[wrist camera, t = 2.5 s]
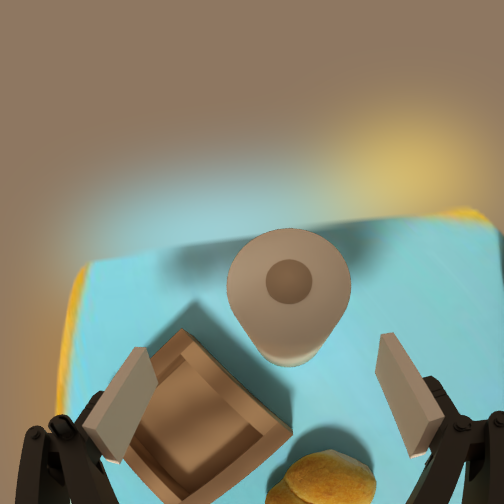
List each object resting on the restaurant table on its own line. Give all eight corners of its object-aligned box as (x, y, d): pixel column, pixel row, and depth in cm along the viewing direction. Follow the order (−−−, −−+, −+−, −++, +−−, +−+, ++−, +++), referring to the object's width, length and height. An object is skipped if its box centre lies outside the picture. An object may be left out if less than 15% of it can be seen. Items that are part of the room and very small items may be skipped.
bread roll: (250, 509, 17) (243, 527, 13) (310, 436, 20) (315, 443, 16) (327, 543, 14) (332, 563, 10) (387, 471, 17) (403, 482, 13)
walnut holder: (292, 429, 20) (293, 434, 17) (195, 509, 17) (183, 521, 14) (193, 336, 25) (181, 328, 22) (110, 415, 22) (91, 415, 19)
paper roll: (337, 329, 24) (375, 273, 13) (291, 381, 22) (294, 371, 12) (286, 287, 26) (283, 207, 15) (240, 335, 25) (200, 285, 14)
